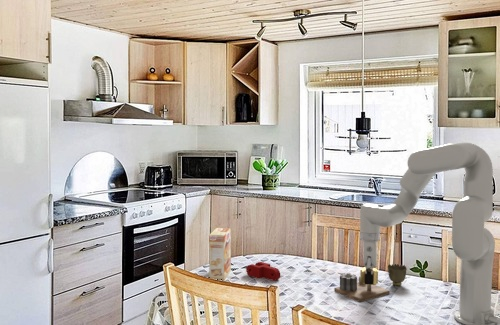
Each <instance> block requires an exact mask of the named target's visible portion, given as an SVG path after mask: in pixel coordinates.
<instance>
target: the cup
mask: <svg viewBox="0 0 500 325" xmlns="http://www.w3.org/2000/svg"><path fill="white" fill-rule="evenodd" d="M407 269H408V268H407V266H405V264H404V265H402V264H399V263H397V264H396V263H395V264H393V263H392V264H388V265H387V271H388V272H387V273H388V277H389V280H390V281H391V284H392V285H393V286H394V287H401V286H402V284H403V282H404V281H405V279H406V277H407V271H408V270H407Z"/></svg>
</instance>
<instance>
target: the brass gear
mask: <svg viewBox="0 0 500 325" xmlns="http://www.w3.org/2000/svg"><path fill="white" fill-rule="evenodd" d="M359 271H360V272H359V274H360V282H361V283H362V284H365V267H362V268H360V270H359ZM377 284H379V270H378V269H377V268H376V267H373V285H376V286H377ZM367 285H370V284H367Z"/></svg>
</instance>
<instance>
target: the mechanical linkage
mask: <svg viewBox="0 0 500 325" xmlns="http://www.w3.org/2000/svg"><path fill="white" fill-rule="evenodd" d="M245 272H246V274H247V275H248V276H250V277H251V278H255V279H259V280H260V279H262V278H264V279H267V280H271V281H274V282H275V281H277V280H279V279H280V278H281V272H280V270H279V269H278V267H274V266H272V265H271V263H267V262H263V261H258V262H256V263H255V264H253V263H252V264H248V265H246V269H245Z"/></svg>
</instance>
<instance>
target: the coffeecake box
mask: <svg viewBox="0 0 500 325" xmlns="http://www.w3.org/2000/svg"><path fill="white" fill-rule="evenodd" d="M231 230H232V229H231V228H229V227H216V228H214V230H213V231H212V232H210V233H209V235H208V258H209V260H208V264H209V265H208V268H209V269H208V276H209V277H210V278H214V279H218V280H217V281H225V280H226V279H227V277H228V275H229V274H230V272H231V271H232V270H231V269H232V261H231V260H232V257H231V256H232V255H231V254H232V249H231V248H232V238H231V235H232V234H231V233H232V232H231ZM221 279H222V280H221Z"/></svg>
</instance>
